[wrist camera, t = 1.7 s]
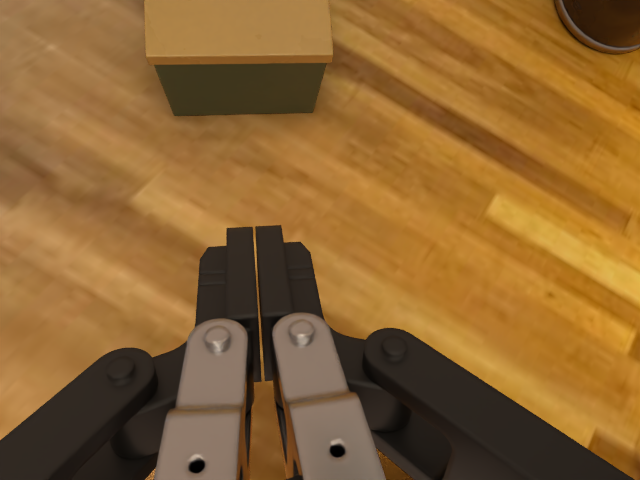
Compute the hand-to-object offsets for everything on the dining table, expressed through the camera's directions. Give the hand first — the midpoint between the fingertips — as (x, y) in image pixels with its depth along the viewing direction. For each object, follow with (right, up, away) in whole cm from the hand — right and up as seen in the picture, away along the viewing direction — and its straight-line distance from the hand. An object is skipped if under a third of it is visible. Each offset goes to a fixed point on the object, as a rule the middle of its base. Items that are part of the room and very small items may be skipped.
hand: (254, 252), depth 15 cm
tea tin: (-4, +14, +24) cm, 28 cm away
